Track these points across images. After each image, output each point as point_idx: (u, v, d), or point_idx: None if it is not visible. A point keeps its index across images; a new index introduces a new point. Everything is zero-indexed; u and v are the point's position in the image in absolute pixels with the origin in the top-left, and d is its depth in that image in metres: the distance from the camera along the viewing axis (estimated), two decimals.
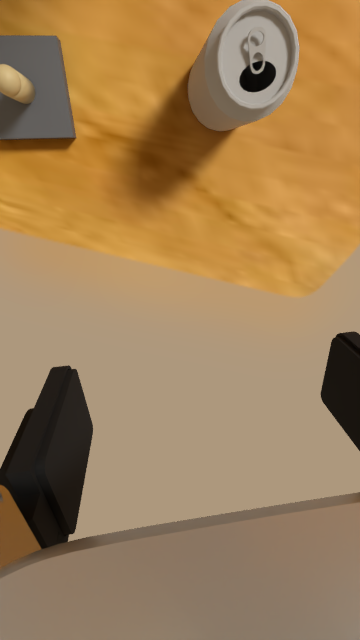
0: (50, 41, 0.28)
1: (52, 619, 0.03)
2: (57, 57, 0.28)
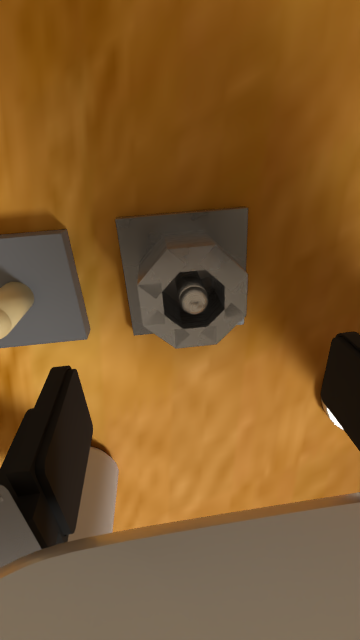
0: (80, 332, 0.23)
1: (52, 619, 0.03)
2: (66, 339, 0.23)
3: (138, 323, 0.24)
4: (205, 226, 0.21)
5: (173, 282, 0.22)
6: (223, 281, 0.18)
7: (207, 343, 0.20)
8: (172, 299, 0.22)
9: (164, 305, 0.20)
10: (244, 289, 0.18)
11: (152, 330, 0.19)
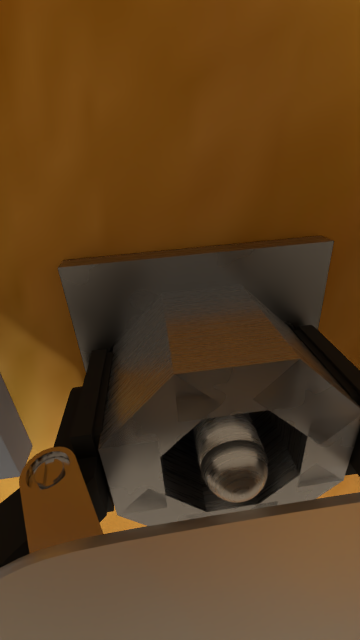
0: (6, 468, 0.12)
1: (52, 619, 0.03)
2: None
3: None
4: (245, 277, 0.10)
5: None
6: (306, 428, 0.08)
7: None
8: None
9: None
10: (350, 439, 0.08)
11: (139, 520, 0.09)
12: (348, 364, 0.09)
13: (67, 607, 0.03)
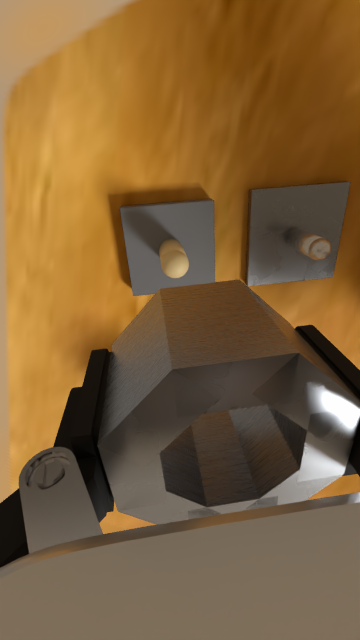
0: (210, 282, 0.29)
1: (52, 619, 0.03)
2: None
3: (252, 275, 0.30)
4: (316, 196, 0.27)
5: (285, 241, 0.29)
6: (305, 422, 0.07)
7: None
8: None
9: None
10: (350, 433, 0.08)
11: (139, 515, 0.09)
12: (348, 364, 0.09)
13: (67, 607, 0.03)
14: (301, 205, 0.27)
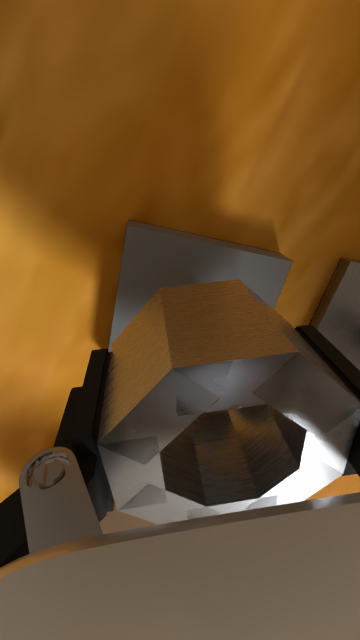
0: None
1: (52, 619, 0.03)
2: None
3: None
4: None
5: None
6: (305, 422, 0.07)
7: None
8: None
9: None
10: (349, 432, 0.08)
11: (139, 515, 0.09)
12: (348, 364, 0.09)
13: (67, 607, 0.03)
14: None
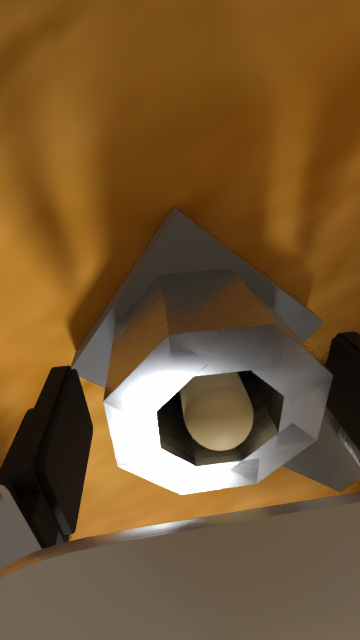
0: None
1: (52, 619, 0.03)
2: None
3: None
4: None
5: (338, 427, 0.18)
6: (282, 388, 0.09)
7: (240, 483, 0.11)
8: None
9: (160, 411, 0.11)
10: (321, 400, 0.09)
11: (136, 472, 0.10)
12: None
13: (67, 607, 0.03)
14: None
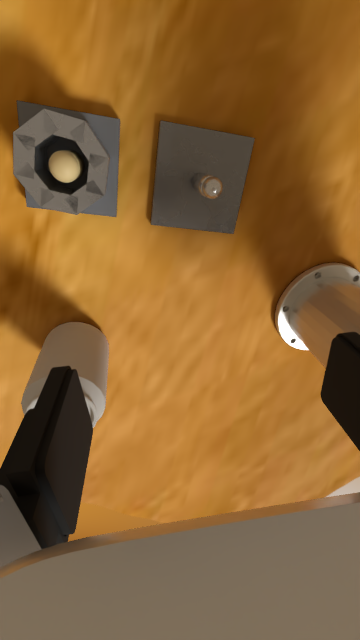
0: (112, 209, 0.29)
1: (52, 619, 0.03)
2: (100, 213, 0.29)
3: (156, 214, 0.30)
4: (223, 144, 0.28)
5: (190, 185, 0.29)
6: (71, 137, 0.22)
7: (97, 198, 0.24)
8: (70, 187, 0.27)
9: (54, 188, 0.25)
10: (91, 135, 0.22)
11: (49, 207, 0.24)
12: None
13: (67, 607, 0.03)
14: (207, 150, 0.28)
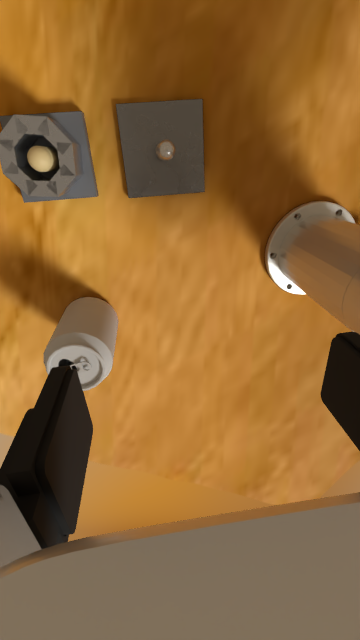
0: (92, 191, 0.34)
1: (52, 619, 0.03)
2: (82, 196, 0.34)
3: (131, 188, 0.34)
4: (174, 111, 0.31)
5: (155, 155, 0.33)
6: (39, 132, 0.27)
7: (70, 179, 0.29)
8: None
9: (38, 179, 0.30)
10: (54, 127, 0.27)
11: (35, 195, 0.29)
12: None
13: (67, 607, 0.03)
14: (162, 120, 0.32)
